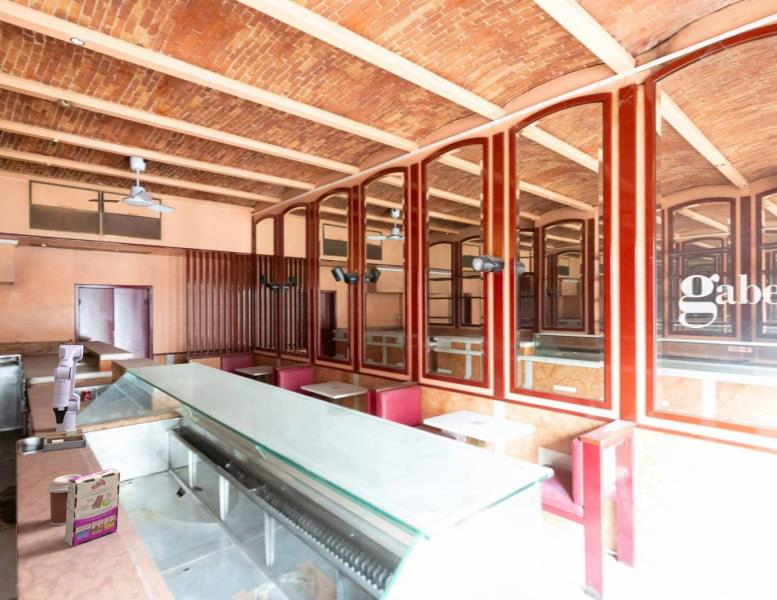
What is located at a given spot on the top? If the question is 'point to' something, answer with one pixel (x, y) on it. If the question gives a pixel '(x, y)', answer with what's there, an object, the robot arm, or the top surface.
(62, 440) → the cream tile
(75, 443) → the tray
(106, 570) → the top surface
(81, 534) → the candy bar box
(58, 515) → the coffee cup
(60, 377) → the robot arm
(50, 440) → the plate
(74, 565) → the top surface
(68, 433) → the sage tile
